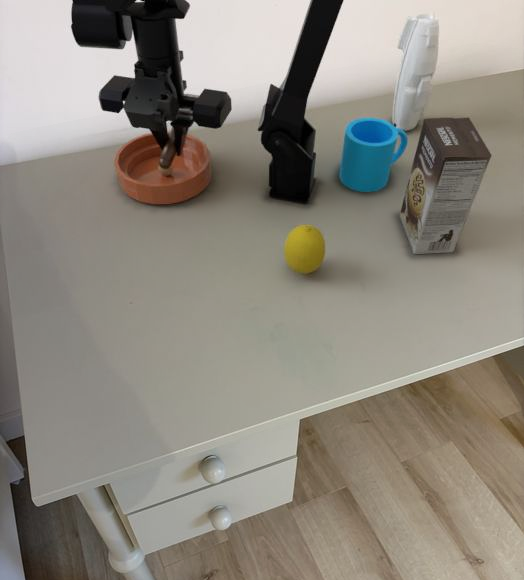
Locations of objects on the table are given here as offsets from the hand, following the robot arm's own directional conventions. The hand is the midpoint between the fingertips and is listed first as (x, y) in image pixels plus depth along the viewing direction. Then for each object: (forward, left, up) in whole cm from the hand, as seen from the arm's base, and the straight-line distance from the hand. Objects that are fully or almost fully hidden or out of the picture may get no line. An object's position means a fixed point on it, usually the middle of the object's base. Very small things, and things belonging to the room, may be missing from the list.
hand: (172, 153), depth 84 cm
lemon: (-25, +15, -5) cm, 30 cm away
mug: (-31, -11, -5) cm, 33 cm away
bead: (+2, 0, -3) cm, 4 cm away
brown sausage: (+1, 0, 0) cm, 1 cm away
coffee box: (-41, +2, -5) cm, 41 cm away
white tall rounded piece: (-34, -28, -5) cm, 44 cm away
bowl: (+2, 0, -5) cm, 5 cm away
